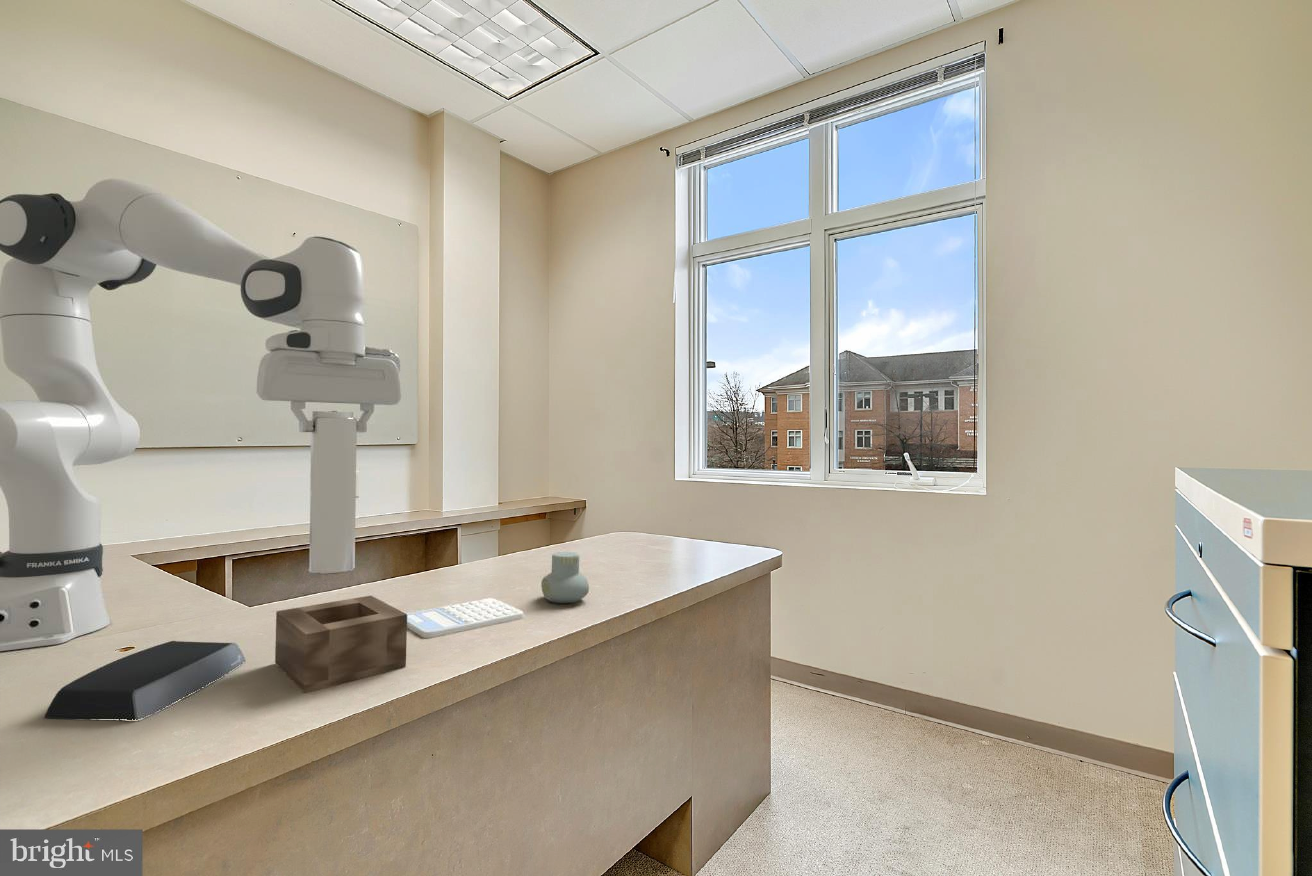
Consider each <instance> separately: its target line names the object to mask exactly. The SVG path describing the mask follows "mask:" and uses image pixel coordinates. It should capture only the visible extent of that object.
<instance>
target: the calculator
mask: <svg viewBox="0 0 1312 876" xmlns="http://www.w3.org/2000/svg"><path fill="white" fill-rule="evenodd" d="M405 614H407V629H409V630H411V631H412V632H414V633H415V634H416V635H418V636H420V637H421V638H424V639H432V638H436V637H437V638H438V637H441V636H447V635H450V634H455V633H461V632H465V631H471V630H475V629H479V628H484V627H489V626H492V624H494V625H499V624H503V623H507V621H508V622H512V620H513V621H517V620H521V619H523V618H524V615H525V614H524V612H523V610H520V609H518V608H516V607H514V606H512V605H510V604H507V603H505V602H503V601H501V600H498V599H496V598H493V597H489V598H483V599H478V600H472V601H467V602H461V603H457V604H451V605H445V606H444V605H443V606H439V607H434V608H428V609H422V610H417V611H411V612H407V613H405ZM516 619H517V620H516ZM498 623H499V624H498Z"/></svg>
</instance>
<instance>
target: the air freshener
mask: <svg viewBox="0 0 1312 876" xmlns="http://www.w3.org/2000/svg"><path fill="white" fill-rule="evenodd" d="M551 555H552V556H551V572H550V573H548V574H546V575H545V576H543V578H542V580H541V586H540V587H541V591H542V594H543V596H544V598H545V599H547V600H548V601H549V602H551V601H552V602H551V603H554V602H555V604H570V603H571V604H572V603H576V602H579V601H580V600H582V599H583V598H586V596H587V595H588V594H589V590H590V589H589V588H590V586H589V582H588V579H587V577H586V576H585V575H584V574H582V573H581V572H580V554H579V553H577V552H574V551H560V552H554V553H553V554H551Z"/></svg>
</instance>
